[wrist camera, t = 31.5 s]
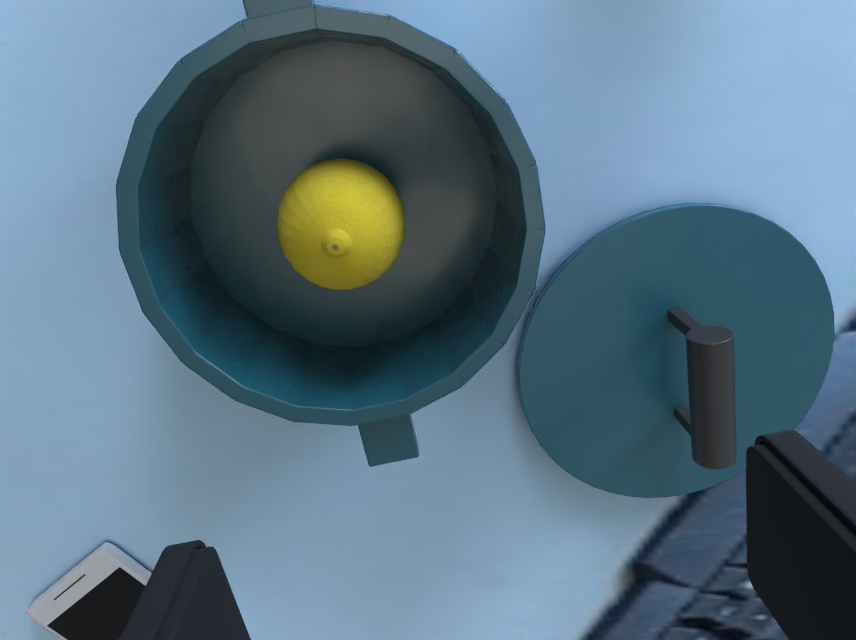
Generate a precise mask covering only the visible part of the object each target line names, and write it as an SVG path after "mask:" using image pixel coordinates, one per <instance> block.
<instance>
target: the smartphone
mask: <svg viewBox="0 0 856 640" xmlns="http://www.w3.org/2000/svg"><path fill="white" fill-rule="evenodd" d="M151 574H152V573H151V572H150V571H148V570H147V569H146V568H144V567H143V566H142V565H140V564H139V563H138V562H136V561H135V560H134V559H132V558H131V557H130V556H128V555H127V554H126V553H124V552H123V551H122V550H120V549H119V548H118V547H116V546H115V545H113V544H111V543H108V542H105V543H103V544H102V545H101V546H99V547H98V548H97V549H96V550H95V551H93V552H92V553H91V554H90V555H88V556H87V557H86V558H85V559H84V560H82V561H81V562H80V563H79V564H78V565H76V566H75V567H74V568H73V569H71V570H70V571H69V572H68V573H67V574H65V575H64V576H63V577H62V578H60V579H59V580H58V581H57V582H56V583H54V584H53V585H52V586H51V587H50V588H48V589H47V590H46V591H45V592H43V593H42V594H41V595H40V596H39V597H37V598H36V599H35V600H34V601H33V602H32V603H31V605H30V606H29V608H28V609H27V611H26V613H27V615H28V616H29V617H30V618H31V619H33V620H34V621H35V622H37V623H38V624H40V625H41V626H43V627H44V628H46V629H47V630H49V631H50V632H52V633H53V634H55V635H56V636H58V637H59V638H61V639H62V640H118V639H119V638H120V637H121V635H122V633H123V631H124V629H125V627H126V625H127V623H128V621H129V619H130V616H131V614H132V612H133V610H134V608H135V606H136V604H137V602H138V600H139V598H140V596H141V594H142V592H143V590H144V588H145V586H146V584H147V582H148V580H149V578H150V576H151Z"/></svg>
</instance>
